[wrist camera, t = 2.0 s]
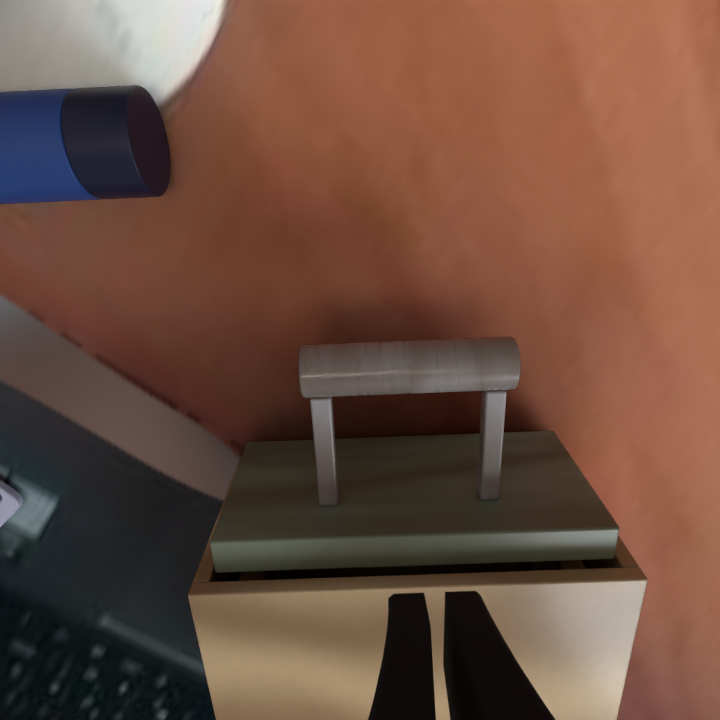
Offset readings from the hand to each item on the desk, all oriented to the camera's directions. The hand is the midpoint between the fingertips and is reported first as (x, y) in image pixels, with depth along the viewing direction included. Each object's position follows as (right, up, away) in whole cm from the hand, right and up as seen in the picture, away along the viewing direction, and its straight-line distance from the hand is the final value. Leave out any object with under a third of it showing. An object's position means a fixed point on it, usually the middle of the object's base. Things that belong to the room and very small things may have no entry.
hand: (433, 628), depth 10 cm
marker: (-12, +12, +5) cm, 17 cm away
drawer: (0, -1, +11) cm, 11 cm away
